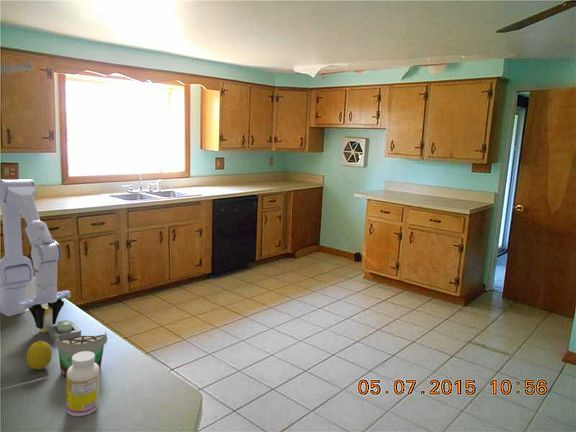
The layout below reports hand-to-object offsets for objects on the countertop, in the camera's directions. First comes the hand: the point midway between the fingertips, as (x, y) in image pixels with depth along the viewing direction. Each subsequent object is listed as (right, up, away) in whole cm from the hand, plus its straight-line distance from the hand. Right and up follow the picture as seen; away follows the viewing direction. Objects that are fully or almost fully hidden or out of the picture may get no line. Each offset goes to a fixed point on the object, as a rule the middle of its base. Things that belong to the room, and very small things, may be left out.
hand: (45, 325), depth 131 cm
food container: (+21, -8, -20) cm, 30 cm away
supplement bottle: (+27, -11, -33) cm, 44 cm away
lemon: (+9, -7, -20) cm, 23 cm away
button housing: (+7, -3, -2) cm, 8 cm away
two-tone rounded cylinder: (0, -1, 0) cm, 2 cm away
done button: (+7, -1, -2) cm, 7 cm away
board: (+2, -2, 0) cm, 3 cm away
